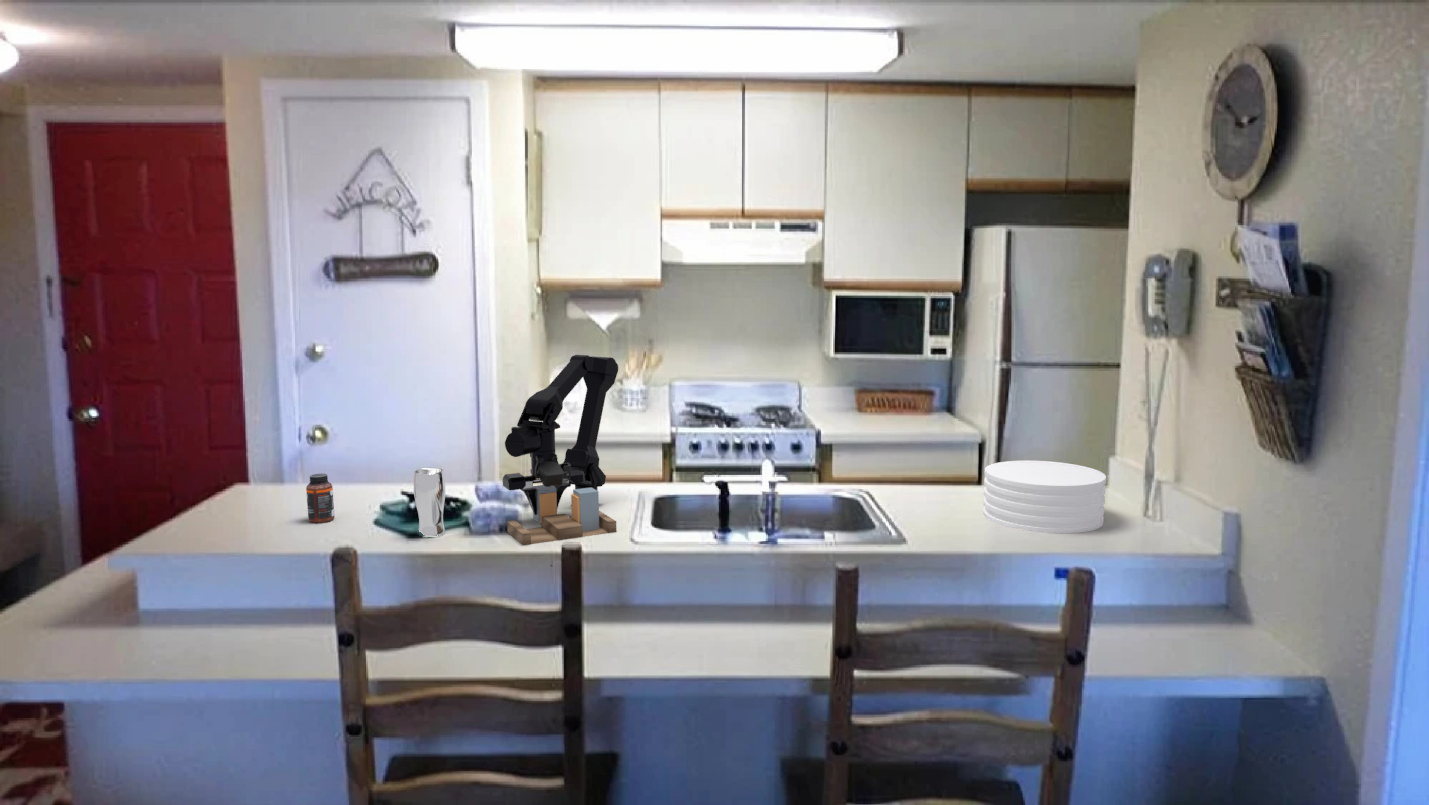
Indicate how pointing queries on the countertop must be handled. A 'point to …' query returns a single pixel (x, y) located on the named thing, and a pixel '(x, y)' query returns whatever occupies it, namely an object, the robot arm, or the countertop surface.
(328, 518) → the supplement bottle
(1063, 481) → the plate stack
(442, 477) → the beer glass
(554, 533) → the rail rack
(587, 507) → the block
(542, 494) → the block
